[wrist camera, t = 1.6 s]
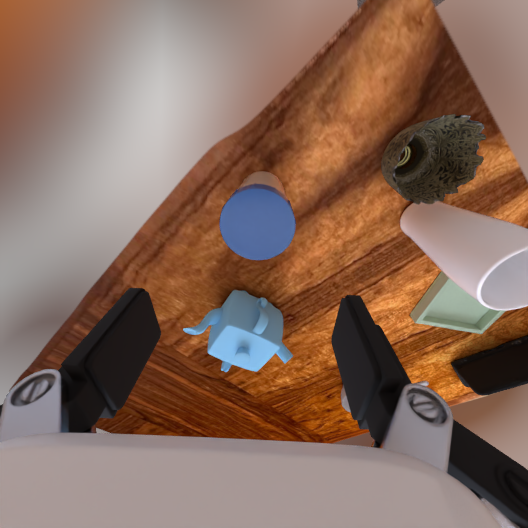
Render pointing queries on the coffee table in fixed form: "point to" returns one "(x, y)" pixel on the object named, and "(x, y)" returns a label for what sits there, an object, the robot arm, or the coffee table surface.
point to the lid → (257, 222)
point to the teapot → (244, 332)
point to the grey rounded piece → (433, 158)
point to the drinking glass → (473, 251)
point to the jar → (263, 180)
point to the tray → (453, 308)
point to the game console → (495, 368)
